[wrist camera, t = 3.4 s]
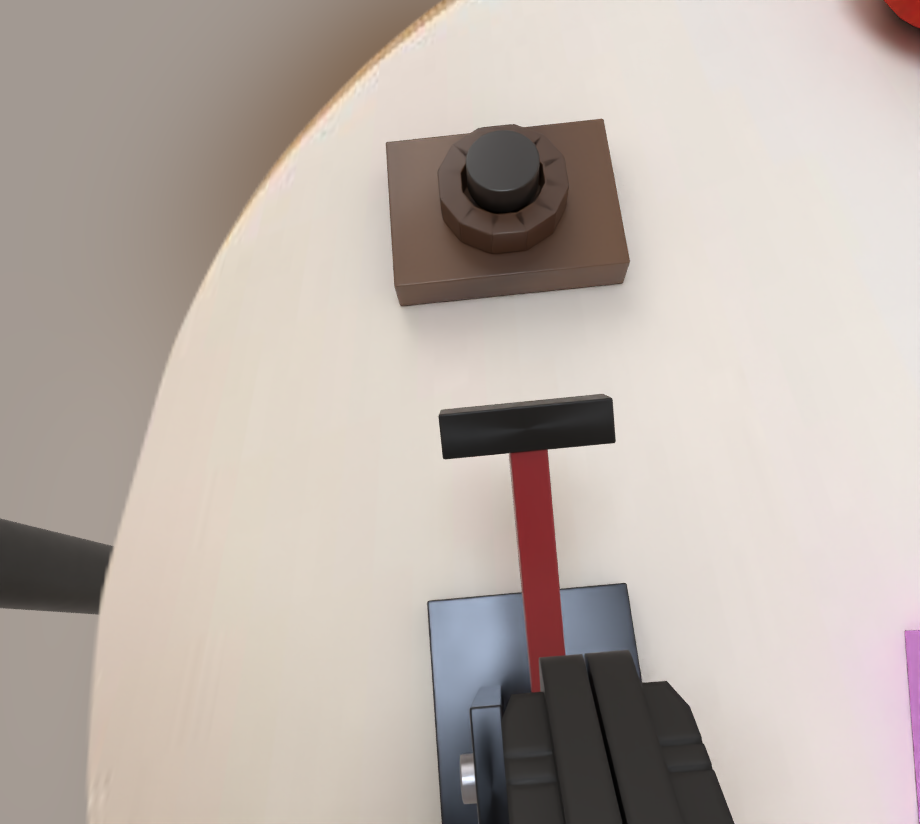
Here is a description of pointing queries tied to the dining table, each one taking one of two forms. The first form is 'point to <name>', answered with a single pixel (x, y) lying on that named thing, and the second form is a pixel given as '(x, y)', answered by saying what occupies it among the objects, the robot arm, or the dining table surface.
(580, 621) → the pivot stand
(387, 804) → the dining table surface
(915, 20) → the apple
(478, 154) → the desk button
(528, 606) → the lever handle
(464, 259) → the button block
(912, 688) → the bracket
